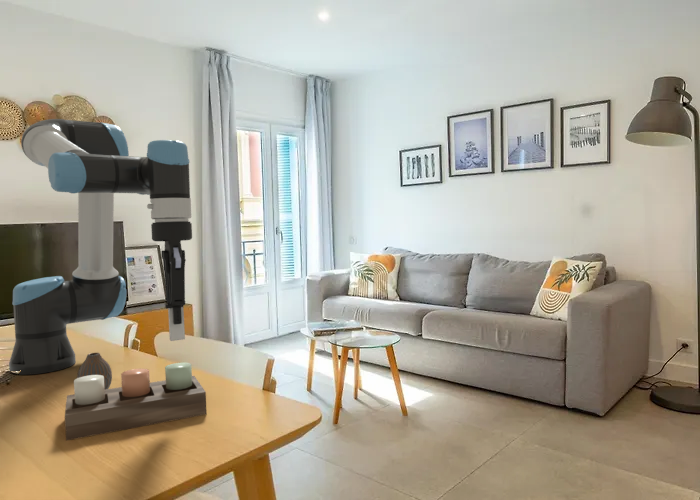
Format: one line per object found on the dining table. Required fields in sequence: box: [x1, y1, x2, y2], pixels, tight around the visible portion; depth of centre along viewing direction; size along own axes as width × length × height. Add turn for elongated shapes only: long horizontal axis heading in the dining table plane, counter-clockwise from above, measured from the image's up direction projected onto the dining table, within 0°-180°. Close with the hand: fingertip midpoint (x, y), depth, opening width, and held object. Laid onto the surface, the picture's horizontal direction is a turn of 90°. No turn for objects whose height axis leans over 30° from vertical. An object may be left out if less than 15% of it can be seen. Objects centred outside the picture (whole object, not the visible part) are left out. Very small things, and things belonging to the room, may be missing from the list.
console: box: [64, 375, 208, 441], centre depth 101 cm, size 12×24×4 cm, turn 117°
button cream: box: [73, 375, 105, 405], centre depth 98 cm, size 5×5×4 cm
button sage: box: [164, 362, 193, 390], centre depth 105 cm, size 5×5×4 cm
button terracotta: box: [120, 368, 151, 397], centre depth 101 cm, size 5×5×4 cm
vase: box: [76, 352, 113, 390], centre depth 116 cm, size 7×7×9 cm
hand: (177, 339), depth 104 cm, fingers closed
